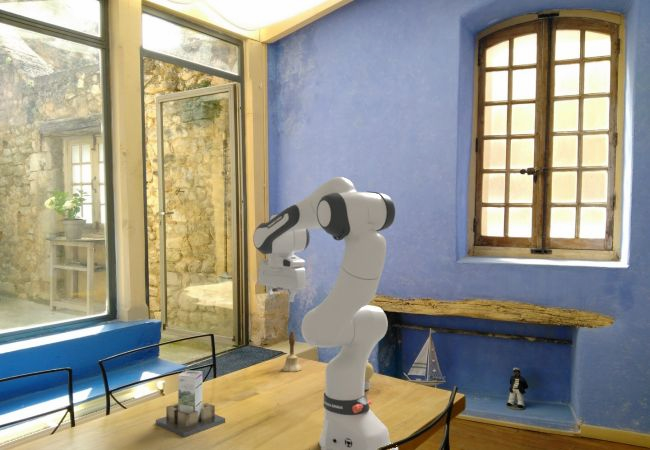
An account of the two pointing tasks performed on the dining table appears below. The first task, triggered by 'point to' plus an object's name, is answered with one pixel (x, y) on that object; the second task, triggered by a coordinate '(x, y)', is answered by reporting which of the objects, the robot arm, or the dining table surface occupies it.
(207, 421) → the metal jaw fixture
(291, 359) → the hand bell
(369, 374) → the light bulb
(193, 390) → the syrup box
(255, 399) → the dining table surface
